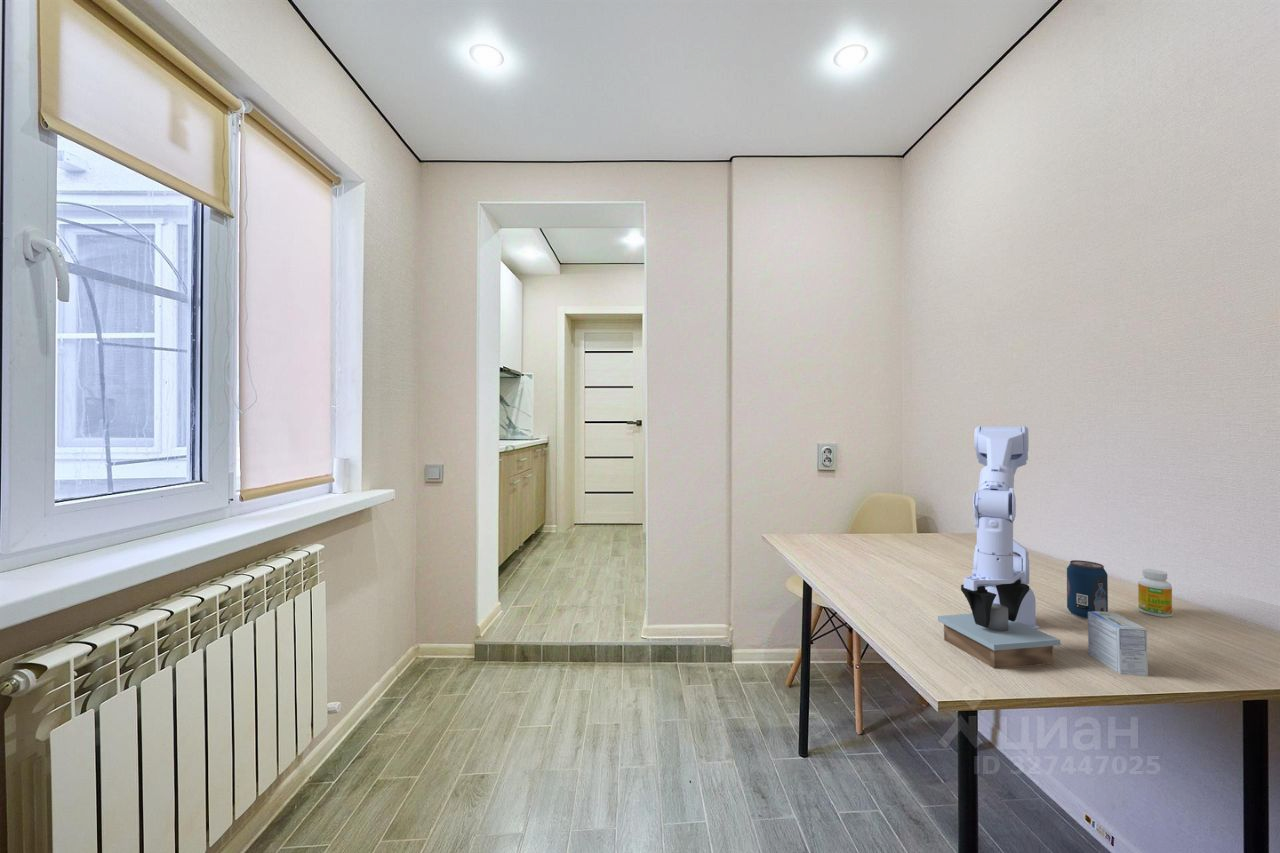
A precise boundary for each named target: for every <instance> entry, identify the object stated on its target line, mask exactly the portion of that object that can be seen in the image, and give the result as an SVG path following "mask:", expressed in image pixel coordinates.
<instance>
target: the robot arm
mask: <svg viewBox="0 0 1280 853" xmlns="http://www.w3.org/2000/svg"><path fill="white" fill-rule="evenodd" d="M973 434H974V436H973V439H974V440H973V443H974V445H973V446H974V450H975V455H976V456H975V457H976V459H977V460H978V464H981V465H983V466H984V467H982V469H980V473H979V478H978V487H977V492H976V491H974V493H973V497H972V510H973V511H972V512H973V516H974V527H975V528H976V544H975V546H974V552H973V562H972V564H973V565H972V566H973V569H972V570H971V573H972V574H970V575H969V576H965V577H963V584H960V591H961V592H962V594H963V595H964V597H965V599H966V601H967V602H968V605H969V608H970V610H971V614H973V617H974V620H975V624H977V625H980V626H983V627H985V628H986V627H988V626H989V623H990V612H991V607H992V604H993V603H996V604H1000V605H1004V606H1006V607H1007V608H1008V620H1010V621H1015V620H1016V621H1018V622H1021V623H1023V624H1025V625H1028V626H1030V627H1032V628H1035V629H1040V626H1039V625H1037V624H1036V623H1037V622H1036V620H1037V619H1036V618H1037V617H1036V614H1037V613H1036V609H1037V608H1036V607H1037V603H1036V595H1035V594H1034V591H1033V590H1032V588H1031V587H1030V586H1029V584H1030V558H1029V552H1028V550H1027V548H1026V547H1024V546H1023V545H1022V544H1020V543H1019V542H1017V541H1016V540H1015V539H1014V522H1015V518H1016V514H1017V504H1016V503H1017V501H1016V500H1017V499H1016V494H1015V489H1014V488H1015V487H1014V486H1015V474H1016V472H1017V469H1018V468H1020V467H1023V466H1025V465H1027V461H1028V460H1029V428H1028V427H1027V425H1022V426H1020V425H1019V426H1018V425H1017V426H1016V425H1014V426H981V425H978V426H976V427H975V428H974V433H973Z"/></svg>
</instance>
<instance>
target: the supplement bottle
mask: <svg viewBox="0 0 1280 853" xmlns="http://www.w3.org/2000/svg"><path fill="white" fill-rule="evenodd" d="M1141 575H1142V576H1143V577H1141V578H1139V579H1138V583H1137V584H1138V586H1137V587H1138V590H1137V591H1138V594H1137V595H1138V597H1137V598H1138V600H1137V601H1138V602H1137V603H1138V610H1139V611H1140V612H1142V613H1143V614H1144V613H1145V614H1146V615H1147V614H1148V615H1150V616H1154V617H1161V618H1162V617H1163V618H1168V617H1172V615H1173V586H1172V584H1171V583H1170V582H1169V581H1167V580H1168V572H1166V571H1163V570H1159V569H1152V568H1143V569H1142V572H1141Z"/></svg>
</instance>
